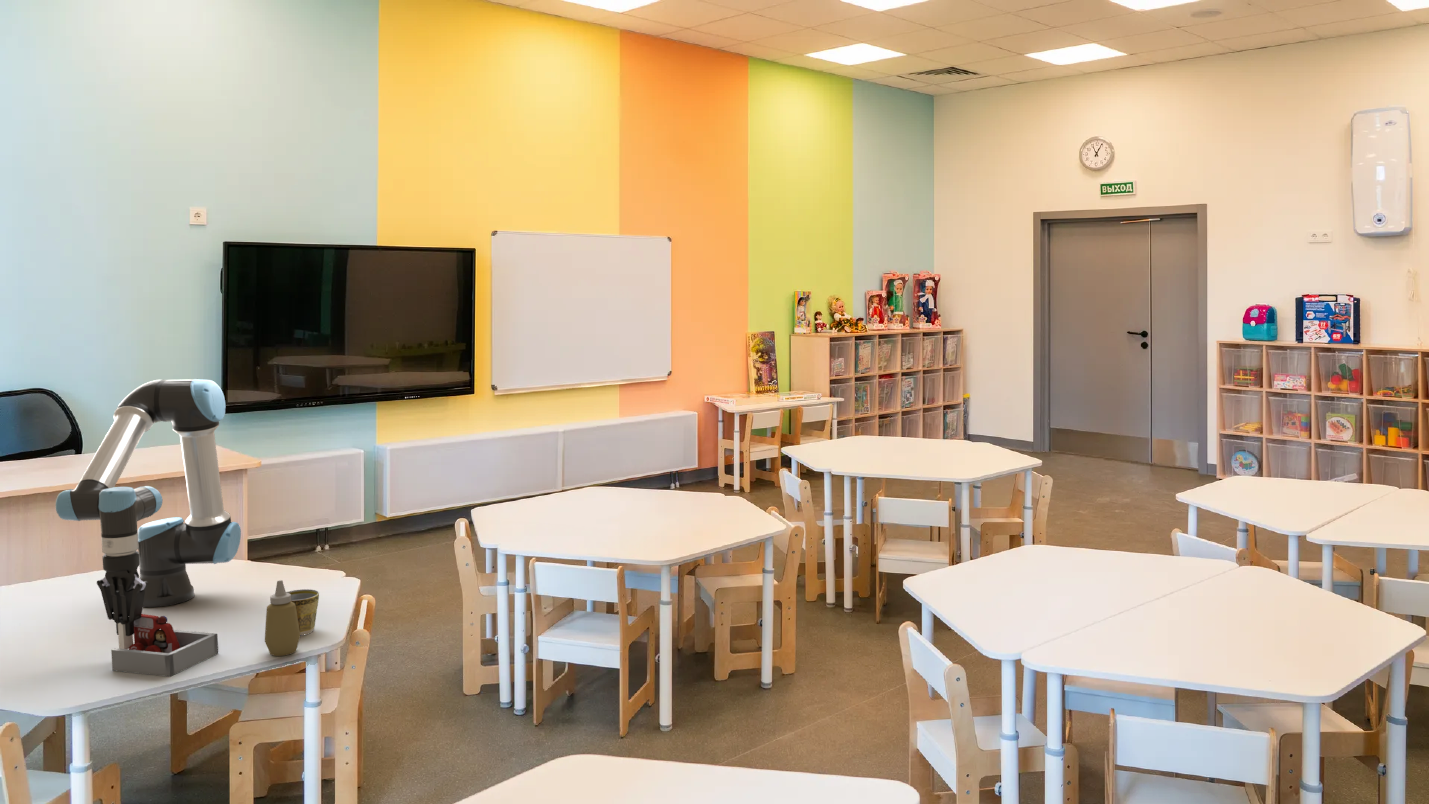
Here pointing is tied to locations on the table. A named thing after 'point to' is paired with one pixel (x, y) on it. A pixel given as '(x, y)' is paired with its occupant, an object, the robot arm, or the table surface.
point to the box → (168, 655)
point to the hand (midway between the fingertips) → (126, 648)
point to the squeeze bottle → (281, 623)
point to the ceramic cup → (305, 608)
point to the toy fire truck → (154, 635)
